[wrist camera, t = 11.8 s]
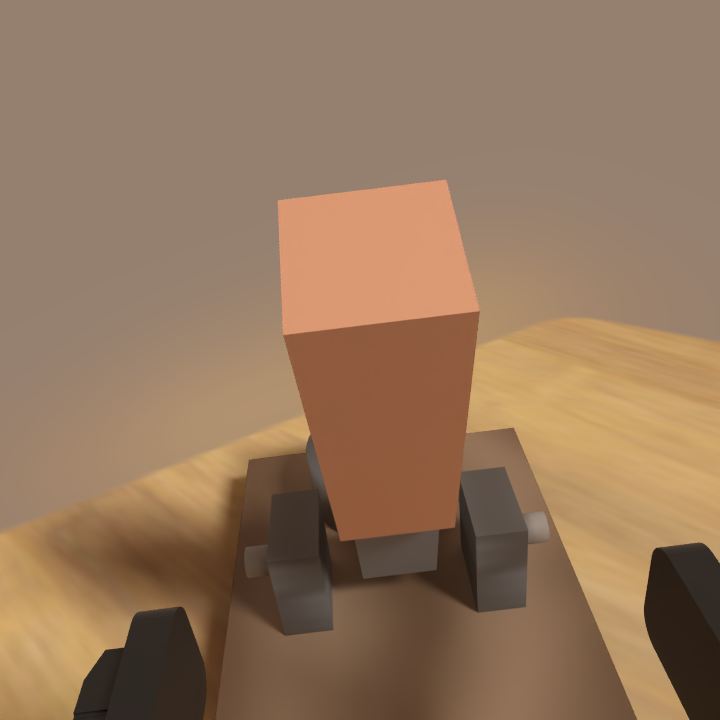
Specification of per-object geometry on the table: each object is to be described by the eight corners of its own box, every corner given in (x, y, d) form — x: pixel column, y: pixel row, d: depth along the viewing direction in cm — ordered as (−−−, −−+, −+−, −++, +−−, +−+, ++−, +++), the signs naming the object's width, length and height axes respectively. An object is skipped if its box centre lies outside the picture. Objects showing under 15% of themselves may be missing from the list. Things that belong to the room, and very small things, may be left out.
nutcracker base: (222, 822, 20) (151, 655, 16) (257, 493, 32) (222, 351, 28) (635, 774, 19) (670, 593, 16) (513, 462, 31) (514, 315, 28)
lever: (355, 595, 22) (283, 335, 10) (347, 507, 23) (278, 200, 12) (448, 584, 22) (480, 311, 10) (433, 497, 23) (446, 180, 12)
